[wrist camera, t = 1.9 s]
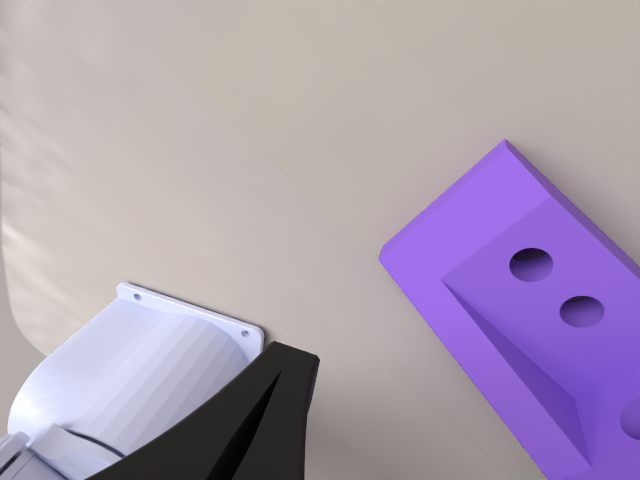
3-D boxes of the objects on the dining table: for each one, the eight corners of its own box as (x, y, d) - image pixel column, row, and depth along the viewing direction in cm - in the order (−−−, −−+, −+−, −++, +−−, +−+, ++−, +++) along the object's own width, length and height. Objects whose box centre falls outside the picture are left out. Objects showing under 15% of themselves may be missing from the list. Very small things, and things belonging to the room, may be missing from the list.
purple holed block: (711, 333, 18) (824, 492, 12) (562, 400, 22) (594, 546, 16) (504, 136, 17) (521, 209, 11) (384, 242, 20) (349, 338, 15)
